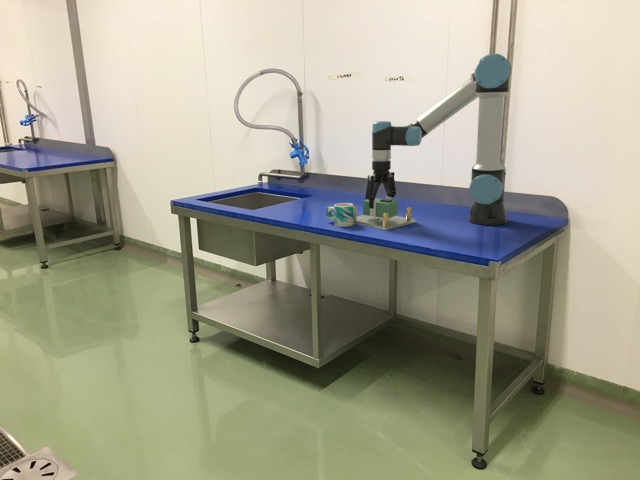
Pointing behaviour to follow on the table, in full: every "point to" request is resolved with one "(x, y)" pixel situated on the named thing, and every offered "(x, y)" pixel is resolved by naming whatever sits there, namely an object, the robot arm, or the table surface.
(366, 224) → the chassis
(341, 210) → the mug
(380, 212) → the green control box
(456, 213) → the table surface
